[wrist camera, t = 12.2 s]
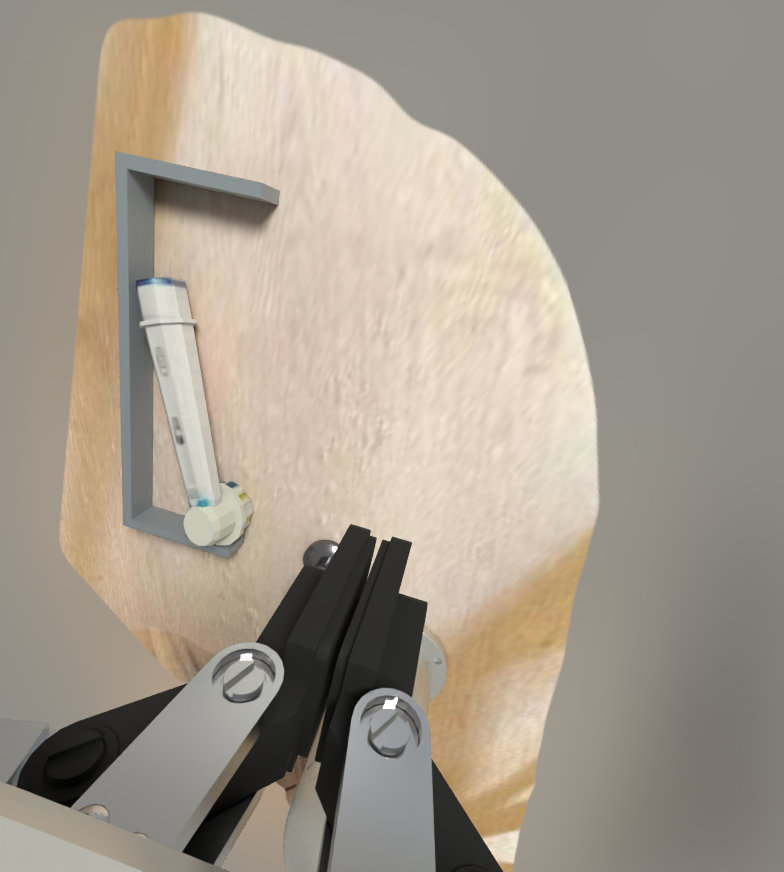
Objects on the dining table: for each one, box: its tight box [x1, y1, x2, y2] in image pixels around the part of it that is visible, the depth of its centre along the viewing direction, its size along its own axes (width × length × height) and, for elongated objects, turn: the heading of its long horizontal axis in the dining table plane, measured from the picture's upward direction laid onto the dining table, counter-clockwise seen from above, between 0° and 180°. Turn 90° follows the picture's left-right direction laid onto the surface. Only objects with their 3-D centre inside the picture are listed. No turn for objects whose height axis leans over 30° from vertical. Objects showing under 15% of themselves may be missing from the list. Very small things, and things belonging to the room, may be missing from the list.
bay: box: [115, 151, 280, 559], centre depth 39 cm, size 34×12×3 cm, turn 168°
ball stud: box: [304, 540, 339, 570], centre depth 42 cm, size 5×5×7 cm
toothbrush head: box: [136, 278, 253, 546], centre depth 40 cm, size 5×7×25 cm
